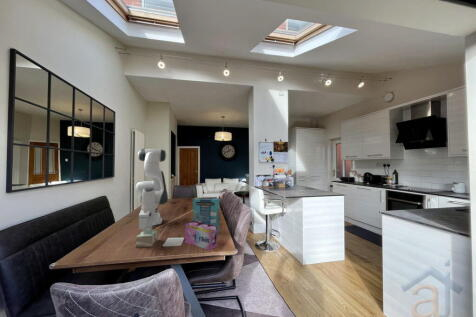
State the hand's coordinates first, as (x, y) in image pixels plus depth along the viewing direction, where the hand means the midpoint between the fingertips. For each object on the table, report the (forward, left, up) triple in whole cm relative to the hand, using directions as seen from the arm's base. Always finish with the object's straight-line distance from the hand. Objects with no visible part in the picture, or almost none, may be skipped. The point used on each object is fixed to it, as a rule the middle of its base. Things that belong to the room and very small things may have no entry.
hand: (147, 231), depth 134 cm
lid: (0, 0, -2) cm, 2 cm away
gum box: (+5, +37, -8) cm, 38 cm away
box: (0, 0, -8) cm, 8 cm away
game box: (-19, +39, -8) cm, 44 cm away
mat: (-1, +18, -8) cm, 19 cm away
